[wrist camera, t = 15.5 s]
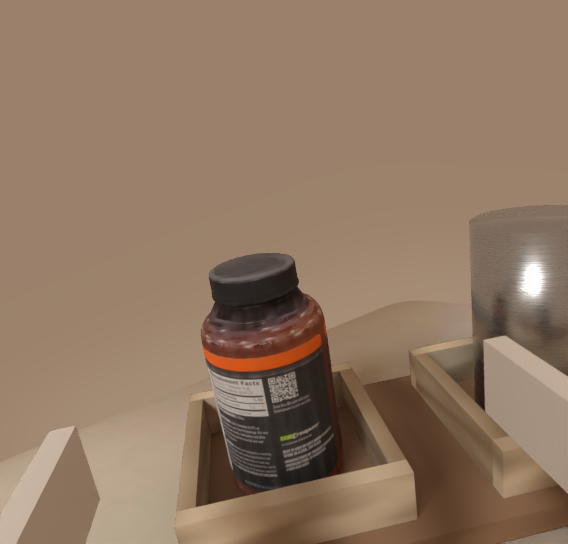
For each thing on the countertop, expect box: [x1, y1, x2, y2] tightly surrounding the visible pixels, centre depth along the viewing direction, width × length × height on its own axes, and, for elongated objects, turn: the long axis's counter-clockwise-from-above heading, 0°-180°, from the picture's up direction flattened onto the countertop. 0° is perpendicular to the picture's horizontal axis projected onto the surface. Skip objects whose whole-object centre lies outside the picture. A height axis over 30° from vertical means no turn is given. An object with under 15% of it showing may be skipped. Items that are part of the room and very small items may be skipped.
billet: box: [469, 205, 568, 411], centre depth 24 cm, size 6×6×11 cm
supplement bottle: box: [201, 253, 343, 495], centre depth 22 cm, size 6×6×11 cm
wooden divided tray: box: [174, 337, 568, 544], centre depth 24 cm, size 24×12×4 cm, turn 98°
